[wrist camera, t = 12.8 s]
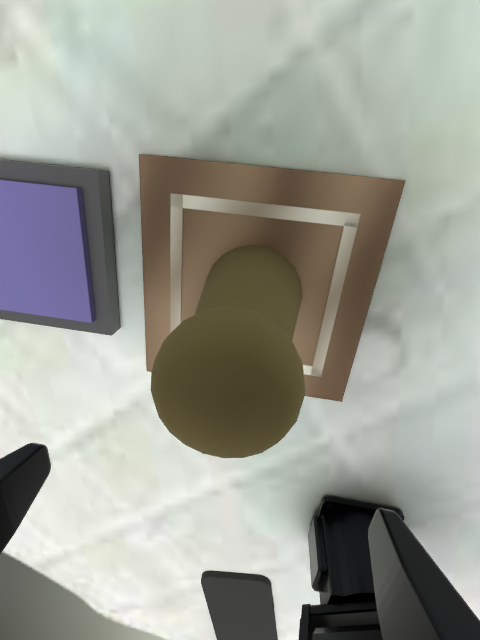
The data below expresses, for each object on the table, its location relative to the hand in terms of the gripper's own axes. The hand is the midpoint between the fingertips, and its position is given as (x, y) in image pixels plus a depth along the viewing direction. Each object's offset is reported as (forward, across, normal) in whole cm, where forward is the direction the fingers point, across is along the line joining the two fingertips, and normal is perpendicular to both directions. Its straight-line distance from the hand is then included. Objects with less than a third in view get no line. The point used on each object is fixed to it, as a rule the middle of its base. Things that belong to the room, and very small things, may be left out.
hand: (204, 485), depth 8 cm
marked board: (+13, 0, -1) cm, 13 cm away
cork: (+13, 0, -1) cm, 13 cm away
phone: (+14, -3, +37) cm, 39 cm away
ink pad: (+13, +14, -2) cm, 19 cm away
